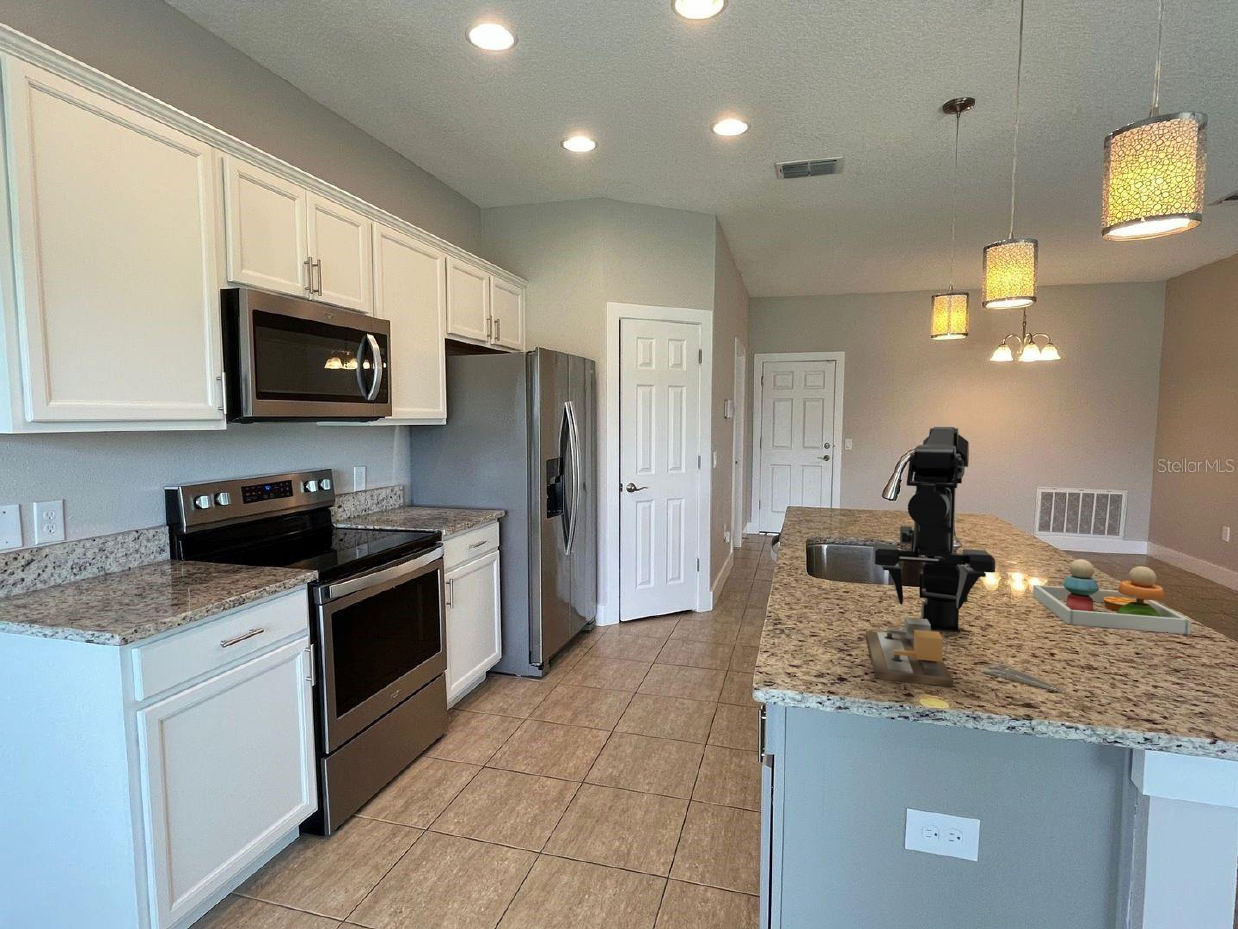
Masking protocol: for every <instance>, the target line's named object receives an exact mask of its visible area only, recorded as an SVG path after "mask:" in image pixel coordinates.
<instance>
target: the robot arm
mask: <svg viewBox="0 0 1238 929" xmlns="http://www.w3.org/2000/svg"><path fill="white" fill-rule="evenodd" d="M969 444H970V443H969V440H967V439H965V437H963V435H962V436H961V434H959V428H958V427H957V428H956V427H954V426H933V427H932V428H931V427H930V428H929V434H928V436H927V437H926V438H925V439H924V440H923V441H922V444H919V445H917V446H915V448H914V451H913V452H910V455H909V462H908V463H909V464H908V467H907V468H908V469H907V470H908V471H907V477H906V486H907V487H916V488H915V494H913V495H912V497H911V498H910V499H909V501H908V504H907V512H908V515H909V517H910V518H911V519H912V520H913V522H914V525H913V526H914V527H912V526H909V525H908V526H907V525H900V527H899V544H900V545H910V550H902V549H901V550H900V549H899V547H898V546H897V545H894V544H879V543H877V544H875V545H874V546H873V547H872V560H873V564H874V565H876V566H877V565H878V566H880V567H881V569H882V570H883V571H887V572H889V575H890V577H891V579H892V583H893V586H894V589H895V592H896V595H897V598H898V602H899V604H900V605H903V602H904V592H903V580H902V579H903V578H902V576H903V575H902V568H901V567H900V565H899V563H900V562H908V563H909V562H910V563H924V564H923V566H922V567H923V568H922V569H920V571H919V588H918V589H919V599H924V601H922V602H921V609H920V610H921V614H920V616H921V617H920V619H927V620H928V621H929V623H930V625H931V630H935V631H936V630H937V631H947V632H957V633H959V632H961V628H960V626H959V622H960V621H959V618H960V617H959V616H960V610H961V609H962V607H963V605H964V603H968V599H969V598H968V597H969V596H968V595H969V594H970V592H971V590H972V589H973V587H974V585H975V584H976V583H977V581H978V580H980V578H986V577H987V573H991V574H992V573H996V559H995V557H994V556H993V555H991V554H990V553H989V552H988V551H986V550H984V549H982V550H981V549H969V548H968V549H965V548H963V550H962V552H961V553H954V548H955V547H954V546H955V519H956V518H955V517H956V516H955V515H956V493H957V492H956V489H958V487H959V486H958V484H962V483H963V477H964V474H965V468H968V467H969V460H970V458H969V457H970V449H969V448H970V446H969Z"/></svg>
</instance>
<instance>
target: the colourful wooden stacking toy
mask: <svg viewBox="0 0 1238 929" xmlns="http://www.w3.org/2000/svg"><path fill="white" fill-rule="evenodd" d="M1069 573H1070V575H1068V576H1067V577H1066V578H1065V579H1064V581H1063V583H1062V587H1065V588H1066V589H1067V590H1068V591H1069V592H1071V593H1070V594H1069V595H1068V596H1067V600H1066V604H1065V605H1066V606H1067V607H1069V608H1070V609H1071V610H1080V611H1093V612H1094V602H1093V599H1092V598H1091V597H1090V596H1089V595H1091V594H1094V593H1096V592H1097V591H1098V590H1100V588H1099V585H1098V583H1097V580H1096V579H1095V578H1094V577H1093V576H1094V573H1095V568H1094V565H1093V564H1092V563H1091V562H1090V561H1088V560H1087V559H1084V558H1083V559H1082V558H1080V559H1075V560H1073V561H1072V562H1071V563H1070V564H1069ZM1128 578H1129V580H1124V581H1121V582H1120V584H1119V585H1118V589H1117V591H1118V592H1120V593H1121V594H1124V595H1127V596H1130V597H1134V598H1137V599H1136V600H1135V599H1130V598H1124V597H1104V598H1103V600H1104V607H1105V608H1106V607H1107V608H1106V609H1108V610H1110V609H1111V610H1110V611H1113V610H1114V612H1116V613H1118V614H1131V615H1143V616H1156V617H1161V616H1160V614H1159V613H1158V612H1157V611H1156V610H1155V609H1154V608H1153V607H1151V605H1149V604H1147V603H1144V600H1153V601H1163V600H1164V599H1165V598H1166V596H1165V591H1164V589H1163V588H1162V587H1161V586H1159V585H1156V582H1157V575H1156V573H1155V572H1154V570H1152V569H1151V568H1150V567H1147V566H1135V567H1133V568H1132V569H1131V570H1130V571H1129V573H1128Z"/></svg>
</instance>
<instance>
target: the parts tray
mask: <svg viewBox="0 0 1238 929" xmlns="http://www.w3.org/2000/svg"><path fill="white" fill-rule="evenodd" d="M1032 587H1033V589H1032V597H1033V598H1034V599H1035V600H1036V601H1038V602H1039V603H1040V604H1042V605H1043V606H1044V607H1045V608H1047V609H1048V610H1049V611H1051V612H1052V613H1053V614H1054V615H1056V616H1057V617H1058V619H1060V620H1061V621H1063V622H1064V623H1065V624H1067V625H1073V626H1074V625H1075V626H1087V627H1097V628H1110V629H1120V630H1121V629H1122V630H1132V631H1133V630H1134V631H1146V632H1157V633H1165V634H1166V633H1167V632H1168V633H1170V634H1178V635H1179V634H1181V635H1191V631H1192V620H1191V619H1189V618H1187V617H1185V616H1184V615H1181V614H1180V613H1179V612H1178V613H1177V612H1176V611H1174V610H1172V609H1170V608H1169V607H1167V606H1164V605H1163V604H1161V603H1158V601H1157V602H1156V600H1144V603H1147V604H1149V605H1151V607H1153V608H1154V609H1155V610H1156V611H1157V612H1158V613H1159V614H1160V616H1161V617H1156V616H1143V615H1131V614H1118V613H1117V612H1116V613H1115V612H1106V611H1105V612H1104V611H1094V610H1093V611H1080V610H1071V609H1070V608H1069V607H1067V606H1066V605H1067V604H1064V603H1063V602H1062V600H1063V601H1067V596H1068V595H1069V594H1070V593H1071V592H1069V591H1068V590H1067V589H1066V588H1065V587H1064V586H1056V585H1055V586H1053V585H1039V584H1038V585H1037V584H1033V586H1032ZM1089 596H1090V597H1091V598H1092V599H1093V601H1095V602H1094V603H1101V602H1104V600H1103V598H1104V597H1124V598H1130V599H1135V600H1136V599H1137V598H1134V597H1130V596H1127V595H1124V594H1121V593H1120V592H1118V590H1114V589H1113V590H1111V589H1099V590H1098V591H1097V592H1096V593H1094V594H1091V595H1089ZM1060 600H1061V601H1060Z"/></svg>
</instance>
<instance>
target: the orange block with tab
mask: <svg viewBox="0 0 1238 929" xmlns="http://www.w3.org/2000/svg"><path fill="white" fill-rule="evenodd" d="M943 650H944V638H943V637H942V635H941V633H940V631H932V630H931V631H922V630H914V651H905V650H895V649H894V658H895V659H900V655H903V656H913V657H916V658H917V659H919V660H928V661H938V662H942V660H943V656H944V651H943Z"/></svg>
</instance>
